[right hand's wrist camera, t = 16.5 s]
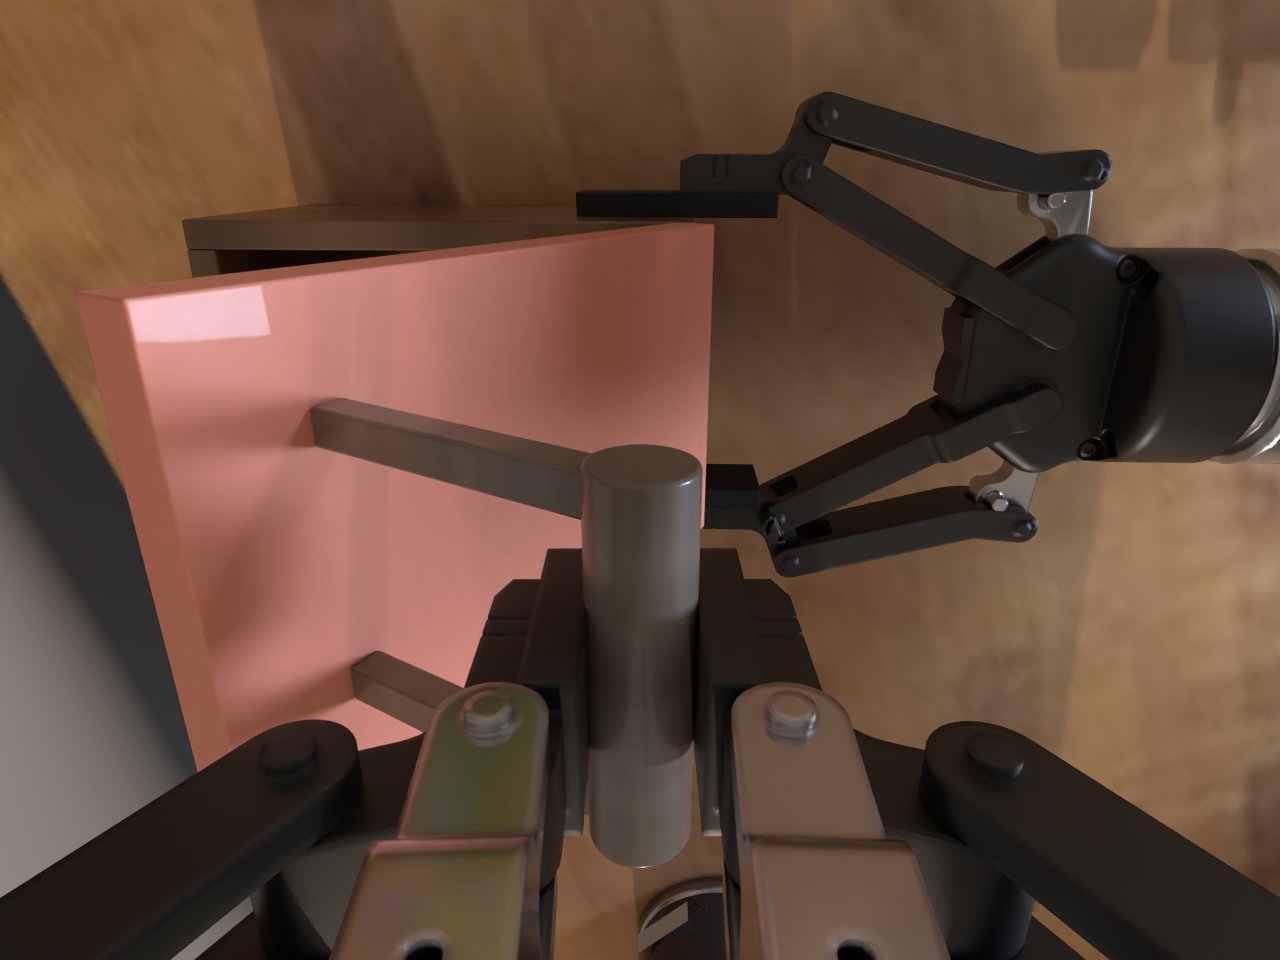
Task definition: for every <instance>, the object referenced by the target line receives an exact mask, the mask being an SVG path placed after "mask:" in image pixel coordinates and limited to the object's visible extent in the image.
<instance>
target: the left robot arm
mask: <svg viewBox="0 0 1280 960" xmlns="http://www.w3.org/2000/svg"><path fill="white" fill-rule="evenodd" d="M831 143H832V144H835V145H838V146H842V147H845V148H848V149H852V150H855V151H859V152H862V153H865V154H869V155H872V156H876V157H879V158H882V159H886V160H889V161H892V162H896V163H899V164H903V165H906V166H909V167H913V168H916V169H919V170H923V171H926V172H930V173H933V174H936V175H940V176H943V177H947V178H950V179H953V180H957V181H960V182H963V183H967V184H970V185H974V186H977V187H980V188H985V189H989V190H993V191H1003V192H1014V193H1017V206H1018V208H1019V210H1020V211H1021V213H1023V214H1024V215H1026V216H1031V217H1036V218H1038V219H1039V220H1041V221H1042V223H1043V224H1044V226H1045V230H1046V235H1045V236H1043V237H1042V238H1040V239H1038V240H1037V241H1035V242H1034V243H1032V244H1031V245H1029V246H1028V247H1026V248H1025V249H1023V250H1022V251H1020V252H1018V253H1017V254H1015V255H1014V256H1012V257H1011V258H1009V259H1008V260H1006V261H1005V262H1003V263H1002V264H1000V265H999V266H997V267H996V268H993V267H992V266H990V265H988V264H987V263H985V262H983V261H981V260H979V259H977V258H975V257H973V256H971V255H969V254H968V253H966V252H964V251H963V250H961V249H959V248H958V247H956V246H954V245H953V244H951V243H950V242H948V241H946V240H945V239H943V238H941V237H940V236H938V235H937V234H935V233H933V232H932V231H930V230H928V229H927V228H925V227H924V226H922V225H920V224H919V223H917V222H915V221H914V220H912V219H910V218H909V217H907V216H906V215H904V214H902V213H901V212H899V211H897V210H896V209H894V208H893V207H891V206H889V205H888V204H886V203H884V202H883V201H881V200H880V199H878V198H876V197H875V196H873V195H871V194H870V193H868V192H867V191H865V190H863V189H862V188H860V187H858V186H857V185H855V184H854V183H852V182H850V181H849V180H847V179H845V178H844V177H842V176H840V175H839V174H837V173H836V172H834V171H832V170H831V169H829V168H827V167H826V166H824V165H823V161H824V159H825V157H826V154H827V152H828V149H829V147H830V145H831ZM1111 170H1112V161H1111V159H1110V157H1109V155H1108V154H1107V153H1105V152H1104V151H1102V150H1072V151H1054V152H1043V153H1033V152H1030V151H1026V150H1023V149H1020V148H1016V147H1013V146H1010V145H1006V144H1003V143H1000V142H996V141H993V140H990V139H986V138H983V137H980V136H976V135H973V134H970V133H966V132H963V131H960V130H956V129H953V128H950V127H946V126H943V125H940V124H936V123H933V122H930V121H926V120H923V119H920V118H916V117H913V116H910V115H906V114H903V113H900V112H896V111H893V110H890V109H886V108H883V107H880V106H877V105H873V104H870V103H867V102H863V101H860V100H857V99H853V98H850V97H847V96H843V95H840V94H837V93H833V92H823V93H821V94H818V95H815V96H813V97H811V98H809V99H807V100H805V101H804V102H803V103H802V104H801V105H799V107H798V109H797V111H796V115H795V120H794V123H793V125H792V128H791V130H790V133H789V135H788V138H787V140H786V142H785V143H784V145H783V146H782V147H781V148H780V149H779V150H778V151H776V152H774V153H772V154H769V155H744V154H696V155H694V156H692V157H689V158H687V159H684V160H682V161H680V191H659V190H583V191H580V192H576V207H577V217H691V218H777V212H778V196H779V194H787V195H788V196H790V197H792V198H793V199H795V200H797V201H798V202H800V203H802V204H803V205H805V206H807V207H808V208H810V209H812V210H813V211H815V212H817V213H818V214H820V215H822V216H823V217H825V218H827V219H828V220H830V221H832V222H833V223H835V224H837V225H838V226H840V227H842V228H843V229H845V230H847V231H848V232H850V233H851V234H853V235H855V236H856V237H858V238H860V239H861V240H863V241H865V242H866V243H868V244H870V245H871V246H873V247H875V248H876V249H878V250H880V251H881V252H883V253H885V254H886V255H888V256H890V257H891V258H893V259H895V260H896V261H898V262H900V263H901V264H903V265H905V266H906V267H908V268H910V269H911V270H913V271H915V272H916V273H918V274H920V275H921V276H923V277H924V278H926V279H927V280H928V281H930V282H932V283H933V284H935V285H937V286H938V287H940V288H942V289H943V290H945V291H947V292H948V293H950V294H952V295H953V296H955V297H956V298H955V300H954V301H953V303H952V305H951V307H950V308H945V310H944V317H943V324H942V333H943V341H944V353H943V355H942V357H941V360H940V362H939V364H938V367H937V369H936V374H935V381H934V388H933V390H934V391H935V392H936V393H937V394H938V395H936V396H934V397H932V398H929V399H927V400H925V401H923V402H921V403H919V404H917V405H915V406H913V407H912V408H911V409H910V410H909V412H908V413H907V414H906V415H905V416H903V417H901V418H899V419H897V420H895V421H893V422H891V423H889V424H887V425H884V426H882V427H880V428H878V429H876V430H874V431H872V432H870V433H868V434H866V435H863V436H861V437H859V438H857V439H855V440H853V441H851V442H849V443H847V444H845V445H843V446H840V447H838V448H836V449H834V450H832V451H830V452H828V453H826V454H824V455H822V456H820V457H817V458H815V459H813V460H811V461H809V462H807V463H805V464H803V465H801V466H799V467H797V468H794V469H792V470H790V471H788V472H786V473H784V474H782V475H780V476H778V477H776V478H773V479H771V480H769V481H767V482H765V483H763V484H761V485H760V486H759V484H758V481H757V477H756V474H755V471H754V467H753V465H750V464H706V482H705V510H704V527H703V529H712V528H713V529H748V530H754V531H757V532H758V533H760V534H761V535H762V536H763V537H764V538H765V540H766V543H767V546H768V549H769V552H770V554H771V557H772V560H773V564H774V567H775V569H776V571H777V573H779V574H780V575H781V576H784V577H796V576H800V575H805V574H810V573H814V572H819V571H824V570H828V569H833V568H837V567H842V566H847V565H851V564H856V563H861V562H865V561H870V560H875V559H879V558H884V557H889V556H893V555H898V554H903V553H907V552H912V551H917V550H921V549H926V548H931V547H935V546H940V545H944V544H949V543H954V542H958V541H963V540H968V539H972V538H975V539H986V540H996V541H1007V542H1025V541H1027V540H1030V539H1031V538H1032V537H1033V536H1034V535H1035V533H1036V532H1037V530H1038V523H1037V520H1036V518H1035V517H1034V516H1032V515H1031V514H1030V513H1029V512H1028V510H1029V506H1030V503H1031V499H1032V496H1033V493H1034V489H1035V486H1036V482H1037V479H1038V476H1039V472H1044V471H1047V470H1049V469H1051V468H1054V467H1056V466H1058V465H1060V464H1063V463H1066V462H1070V461H1077V460H1084V461H1099V462H1159V463H1195V462H1202V461H1206V460H1208V461H1212V462H1217V463H1223V464H1280V249H1242V250H1239V251H1236V252H1233V251H1230V250H1226V249H1221V248H1112V247H1107V246H1105V245H1103V244H1101V243H1099V242H1098V241H1097V240H1095V239H1094V238H1092V237H1090V236H1088V228H1089V219H1090V210H1091V201H1092V192H1093V189H1097V188H1099V187H1100V186H1101V185H1103V184H1104V183H1105V182H1106V181H1107V179H1108V178H1109V177H1110V174H1111ZM985 447H989V448H990V449H991V450H992V451H994V452H995V453H996V454H997V455H999V456H1000V457H1001V458H1003V459H1004V462H1003V465H1002V466H1001V467H1000V469H998V470H997V471H996V472H994V473H992V474H987V475H981V476H978V475H977V476H974V477H973V478H972V479H971V480H970V485H969V486H948V487H942V488H936V489H931V490H927V491H922V492H918V493H913V494H909V495H904V496H900V497H896V498H891V499H887V500H882V501H878V502H873V503H869V504H864V505H860V506H855V507H851V508H846V509H842V510H837V511H833V510H835V509H838V508H840V507H842V506H844V505H846V504H848V503H851V502H853V501H855V500H857V499H859V498H861V497H864V496H866V495H868V494H870V493H872V492H874V491H877V490H879V489H881V488H883V487H885V486H887V485H890V484H892V483H894V482H896V481H898V480H900V479H903V478H905V477H907V476H909V475H911V474H913V473H916V472H918V471H920V470H922V469H924V468H926V467H929V466H931V465H933V464H936V463H940V462H941V463H949V462H954V461H956V460H959V459H961V458H963V457H965V456H968V455H970V454H972V453H974V452H976V451H978V450H981V449H983V448H985ZM831 511H833V512H831Z"/></svg>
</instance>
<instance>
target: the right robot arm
mask: <svg viewBox="0 0 1280 960" xmlns="http://www.w3.org/2000/svg"><path fill="white" fill-rule="evenodd" d="M694 749H695V760H696V771H697V782H698V793H699V804H700V815H701V826H702V836H722V843H723V852H724V867H723V877H707V878H699V879H694V880H690V881H686V882H683V883H680V884H678V885H675V886H673V887H671V888H669V889H667V890H666V891H664V892H663V893H661V894H660V895H658V896H657V897H656V898H655V899H654V900H653V901H652V902H651V903H650V904H649V905H648V907H647V908H646V909H645V911H644V913H643V915H642V917H641V919H640V923H639V927H638V949H637V954H638V957H639V960H1085V959H1084V958H1083V957H1082V956H1080V955H1079V954H1078V953H1077V952H1076V951H1074V950H1073V949H1072V948H1071V947H1070V946H1068V945H1067V944H1066V943H1065V942H1064V941H1062V940H1061V939H1060V938H1059V937H1058V936H1056V935H1055V934H1054V933H1053V932H1051V931H1050V930H1049V929H1048V928H1047V927H1045V926H1044V925H1043V924H1042V923H1041V922H1039V921H1038V920H1037V919H1036V918H1035V917H1033V916H1032V911H1033V907H1034V903H1035V900H1036V901H1038V902H1039V903H1040V904H1041V905H1043V906H1044V907H1045V908H1046V909H1048V910H1049V911H1050V912H1051V913H1052V914H1054V915H1055V916H1056V917H1057V918H1059V919H1060V920H1061V921H1062V922H1064V923H1065V924H1066V925H1067V926H1069V927H1070V928H1071V929H1072V930H1074V931H1075V932H1076V933H1077V934H1078V935H1080V936H1081V937H1082V938H1083V939H1085V940H1086V941H1087V942H1088V943H1090V944H1091V945H1092V946H1093V947H1095V948H1096V949H1097V950H1098V951H1100V952H1101V953H1102V954H1103V955H1104V956H1106V957H1107V958H1108V959H1109V960H1280V898H1279V897H1277V896H1276V895H1274V894H1273V893H1271V892H1270V891H1268V890H1266V889H1265V888H1263V887H1262V886H1260V885H1259V884H1257V883H1255V882H1254V881H1252V880H1251V879H1249V878H1248V877H1246V876H1244V875H1243V874H1241V873H1240V872H1238V871H1237V870H1235V869H1233V868H1232V867H1230V866H1229V865H1227V864H1226V863H1224V862H1222V861H1221V860H1219V859H1218V858H1216V857H1215V856H1213V855H1211V854H1210V853H1208V852H1207V851H1205V850H1203V849H1202V848H1200V847H1199V846H1197V845H1196V844H1194V843H1192V842H1191V841H1189V840H1188V839H1186V838H1185V837H1183V836H1181V835H1180V834H1178V833H1177V832H1175V831H1174V830H1172V829H1170V828H1169V827H1167V826H1166V825H1164V824H1163V823H1161V822H1159V821H1158V820H1156V819H1155V818H1153V817H1152V816H1150V815H1148V814H1147V813H1145V812H1144V811H1142V810H1141V809H1139V808H1137V807H1136V806H1134V805H1133V804H1131V803H1130V802H1128V801H1126V800H1125V799H1123V798H1122V797H1120V796H1119V795H1117V794H1115V793H1114V792H1112V791H1111V790H1109V789H1108V788H1106V787H1104V786H1103V785H1101V784H1100V783H1098V782H1097V781H1095V780H1093V779H1092V778H1090V777H1089V776H1087V775H1086V774H1084V773H1082V772H1081V771H1079V770H1078V769H1076V768H1075V767H1073V766H1071V765H1070V764H1068V763H1067V762H1065V761H1064V760H1062V759H1060V758H1059V757H1057V756H1056V755H1054V754H1053V753H1051V752H1049V751H1048V750H1046V749H1045V748H1043V747H1042V746H1040V745H1038V744H1037V743H1035V742H1034V741H1032V740H1030V739H1029V738H1027V737H1025V736H1023V735H1021V734H1019V733H1017V732H1015V731H1013V730H1010V729H1007V728H1004V727H1001V726H998V725H994V724H990V723H984V722H977V721H961V722H954V723H949V724H946V725H943V726H941V727H939V728H938V729H936V730H935V731H933V732H932V734H931V735H930V736H929V738H928V740H927V742H926V747H925V750H921V749H917V748H913V747H908V746H904V745H899V744H895V743H890V742H886V741H883V740H879V739H876V738H873V737H871V736H868V735H865V734H863V733H861V732H859V731H857V730H855V729H854V728H853V727H852V724H851V720H850V718H849V716H848V713H847V712H846V710H845V709H844V708H843V706H842V705H841V704H840V703H839V702H838V701H836V700H835V699H834V698H832V697H831V696H830V695H828V694H826V693H824V692H822V689H821V686H820V683H819V680H818V677H817V674H816V671H815V668H814V665H813V662H812V660H811V657H810V654H809V651H808V648H807V645H806V642H805V639H804V637H802V630H801V627H800V624H799V622H798V620H797V616H796V613H795V610H794V607H793V604H792V601H791V598H790V596H789V595H788V594H787V593H786V592H784V591H783V590H782V589H781V588H780V587H779V586H778V585H777V584H775V583H774V582H773V581H772V580H771V579H744V577H743V573H742V569H741V565H740V561H739V557H738V553H737V550H736V548H700V568H699V597H698V615H697V647H696V679H695V710H694ZM589 752H590V729H589V694H588V659H587V624H586V607H585V605H584V601H583V570H582V548H548V549H547V553H546V557H545V561H544V566H543V570H542V574H541V578H540V579H513V580H512V581H511V582H510V583H509V584H507V585H506V586H505V587H504V588H503V589H502V590H501V591H500V592H498V593H497V594H496V595H495V596H494V599H493V602H492V605H491V608H490V611H489V614H488V620H486V623H485V626H484V629H483V632H482V637H481V638H480V641H479V644H478V647H477V650H476V653H475V656H474V659H473V662H472V665H471V668H470V671H469V674H468V677H467V680H466V683H465V686H464V689H462V690H460V691H458V692H456V693H454V694H452V695H450V696H449V697H448V698H446V699H445V700H443V701H442V702H441V703H440V704H439V705H438V706H437V708H436V709H435V710H434V712H433V713H432V715H431V718H430V720H429V724H428V727H427V730H426V732H424V733H422V734H420V735H417V736H415V737H412V738H409V739H406V740H402V741H399V742H395V743H390V744H386V745H381V746H377V747H372V748H368V749H364V750H359V751H358V747H357V741H356V738H355V736H354V734H353V733H352V732H351V731H350V730H349V729H348V728H346V727H345V726H343V725H341V724H339V723H336V722H333V721H328V720H319V719H310V720H300V721H294V722H290V723H285V724H282V725H279V726H276V727H273V728H271V729H268V730H266V731H264V732H262V733H260V734H258V735H256V736H255V737H253V738H251V739H250V740H248V741H246V742H245V743H243V744H242V745H240V746H239V747H237V748H235V749H234V750H232V751H231V752H229V753H228V754H226V755H224V756H223V757H221V758H220V759H218V760H216V761H215V762H213V763H212V764H210V765H209V766H207V767H205V768H204V769H202V770H201V771H199V772H198V773H196V774H194V775H193V776H191V777H190V778H188V779H187V780H185V781H184V782H182V783H180V784H179V785H177V786H176V787H174V788H173V789H171V790H169V791H168V792H166V793H165V794H163V795H162V796H160V797H158V798H157V799H155V800H154V801H152V802H150V803H149V804H147V805H146V806H144V807H143V808H141V809H139V810H138V811H136V812H135V813H133V814H132V815H130V816H129V817H127V818H125V819H124V820H122V821H121V822H119V823H117V824H116V825H114V826H113V827H111V828H110V829H108V830H106V831H105V832H103V833H102V834H100V835H99V836H97V837H95V838H94V839H92V840H91V841H89V842H88V843H86V844H84V845H83V846H81V847H80V848H78V849H77V850H75V851H73V852H72V853H70V854H69V855H67V856H66V857H64V858H62V859H61V860H59V861H58V862H56V863H55V864H53V865H51V866H50V867H48V868H47V869H45V870H44V871H42V872H40V873H39V874H37V875H36V876H34V877H33V878H31V879H29V880H28V881H26V882H25V883H23V884H22V885H20V886H18V887H17V888H15V889H14V890H12V891H11V892H9V893H7V894H6V895H4V896H3V897H1V898H0V960H171V959H172V958H173V957H174V956H176V955H177V954H178V953H179V952H181V951H182V950H183V949H184V948H185V947H187V946H188V945H189V944H190V943H192V942H193V941H194V940H195V939H197V938H198V937H199V936H200V935H201V934H203V933H204V932H205V931H207V930H208V929H209V928H210V927H211V926H213V925H214V924H215V923H216V922H218V921H219V920H220V919H221V918H222V917H224V916H225V915H226V914H228V913H229V912H230V911H231V910H232V909H234V908H235V907H236V906H237V905H239V904H240V903H241V902H242V901H244V900H245V899H246V898H247V897H249V896H250V898H251V902H252V906H253V910H254V911H253V912H252V913H250V914H249V915H248V916H247V917H245V918H244V919H243V920H242V921H241V922H239V923H238V924H237V925H236V926H235V927H233V928H232V929H231V930H230V931H229V932H227V933H226V934H225V935H224V936H223V937H221V938H220V939H219V940H218V941H216V942H215V943H214V944H213V945H212V946H210V947H209V948H208V949H207V950H206V951H204V952H203V953H202V954H201V955H200V956H198V957H197V958H196V959H195V960H553V958H554V941H555V924H556V907H557V891H558V888H557V870H558V868H559V865H560V861H561V854H562V845H563V836H583V824H584V812H585V800H586V788H587V776H588V764H589Z"/></svg>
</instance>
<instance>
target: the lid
mask: <svg viewBox="0 0 1280 960" xmlns="http://www.w3.org/2000/svg"><path fill="white" fill-rule="evenodd" d="M713 253H714V225H713V224H698V223H670V224H661V225H652V226H643V227H635V228H626V229H617V230H608V231H600V232H591V233H582V234H573V235H564V236H556V237H547V238H538V239H529V240H521V241H512V242H503V243H494V244H485V245H477V246H468V247H459V248H450V249H442V250H433V251H424V252H415V253H407V254H398V255H389V256H380V257H371V258H363V259H354V260H345V261H336V262H328V263H319V264H310V265H301V266H293V267H284V268H275V269H266V270H257V271H249V272H240V273H231V274H222V275H214V276H205V277H196V278H187V279H178V280H170V281H161V282H152V283H143V284H135V285H126V286H117V287H108V288H100V289H91V290H82V291H78V292H77V293H76V298H77V302H78V306H79V310H80V314H81V318H82V322H83V326H84V330H85V334H86V338H87V341H88V345H89V349H90V353H91V357H92V361H93V365H94V369H95V373H96V377H97V380H98V384H99V388H100V392H101V396H102V400H103V404H104V408H105V412H106V416H107V420H108V423H109V427H110V431H111V435H112V439H113V443H114V447H115V451H116V455H117V459H118V462H119V466H120V470H121V474H122V478H123V482H124V486H125V490H126V494H127V498H128V501H129V505H130V509H131V513H132V517H133V521H134V525H135V529H136V533H137V537H138V541H139V544H140V548H141V552H142V556H143V560H144V564H145V568H146V572H147V576H148V580H149V583H150V587H151V591H152V595H153V599H154V603H155V607H156V611H157V615H158V619H159V622H160V626H161V630H162V634H163V638H164V642H165V646H166V650H167V654H168V658H169V662H170V665H171V669H172V673H173V677H174V681H175V685H176V689H177V693H178V697H179V701H180V704H181V708H182V712H183V716H184V720H185V724H186V728H187V732H188V736H189V739H190V744H191V747H192V751H193V755H194V759H195V763H196V767H197V771H198V772H199V771H201V770H202V769H204V768H205V767H207V766H209V765H210V764H212V763H213V762H215V761H216V760H218V759H220V758H221V757H223V756H224V755H226V754H228V753H229V752H231V751H232V750H234V749H235V748H237V747H239V746H240V745H242V744H243V743H245V742H246V741H248V740H250V739H251V738H253V737H255V736H256V735H258V734H260V733H262V732H264V731H266V730H268V729H271V728H273V727H276V726H279V725H282V724H285V723H290V722H294V721H300V720H310V719H319V720H328V721H333V722H336V723H339V724H341V725H343V726H345V727H346V728H348V729H349V730H350V731H351V732H352V733H353V734H354V736H355V738H356V741H357V747H358V751H359V750H364V749H368V748H372V747H377V746H381V745H386V744H390V743H395V742H399V741H402V740H406V739H409V738H412V737H415V736H417V735H420V734H422V733H424V732H426V730H427V727H428V724H429V720H430V718H431V715H432V713H433V712H434V710H435V709H436V708H437V706H438V705H439V704H440V703H441V702H442V701H443V700H445V699H446V698H448V697H449V696H450V695H452V694H454V693H456V692H458V691H460V690H462V689H464V686H465V683H466V680H467V677H468V674H469V671H470V668H471V665H472V662H473V659H474V656H475V653H476V650H477V647H478V644H479V641H480V638H481V637H482V632H483V629H484V626H485V623H486V620H488V614H489V611H490V608H491V605H492V602H493V599H494V596H495V595H496V594H497V593H498V592H500V591H501V590H502V589H503V588H504V587H505V586H506V585H507V584H509V583H510V582H511V581H512V580H513V579H540V578H541V574H542V570H543V566H544V561H545V557H546V553H547V549H548V548H582V570H583V601H584V605H585V607H586V624H587V659H588V694H589V729H590V752H589V764H588V776H587V788H586V800H585V812H584V813H585V814H587V815H589V823H590V835H591V838H592V840H593V842H594V844H595V846H596V847H597V849H598V850H599V851H600V852H601V853H602V854H603V855H604V856H605V857H606V858H607V859H609V860H611V861H612V862H614V863H617V864H619V865H622V866H625V867H630V868H650V867H655V866H659V865H661V864H664V863H666V862H668V861H670V860H672V859H673V858H675V857H676V856H677V855H678V854H679V853H680V852H681V851H682V850H683V848H684V847H685V845H686V843H687V842H688V839H689V837H690V832H691V807H692V777H693V747H694V710H695V679H696V647H697V615H698V597H699V568H700V538H701V528H703V527H704V510H705V482H706V453H707V425H708V396H709V367H710V339H711V310H712V282H713Z"/></svg>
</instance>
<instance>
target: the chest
mask: <svg viewBox="0 0 1280 960" xmlns="http://www.w3.org/2000/svg"><path fill="white" fill-rule="evenodd" d="M670 223H694V221H693V219H692V218H691V217H577V207H576V205H342V204H313V205H305V206H297V207H288V208H279V209H271V210H262V211H253V212H245V213H236V214H228V215H219V216H210V217H202V218H193V219H184V220H183V221H182V224H183V229H184V234H185V239H186V244H187V248H188V249H190V250H188V255H189V260H190V265H191V270H192V275H193V278H196V277H205V276H214V275H222V274H231V273H240V272H249V271H257V270H266V269H275V268H284V267H293V266H301V265H310V264H319V263H328V262H336V261H345V260H354V259H363V258H371V257H380V256H389V255H398V254H407V253H415V252H424V251H433V250H442V249H450V248H459V247H468V246H477V245H485V244H494V243H503V242H512V241H521V240H529V239H538V238H547V237H556V236H564V235H573V234H582V233H591V232H600V231H608V230H617V229H626V228H635V227H643V226H652V225H661V224H670Z"/></svg>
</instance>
